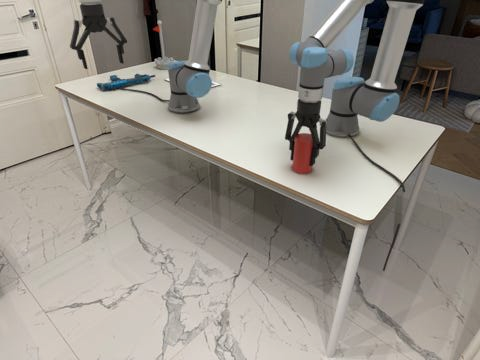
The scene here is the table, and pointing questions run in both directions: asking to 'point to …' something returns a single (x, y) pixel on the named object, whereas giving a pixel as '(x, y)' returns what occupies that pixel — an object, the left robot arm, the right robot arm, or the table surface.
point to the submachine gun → (123, 81)
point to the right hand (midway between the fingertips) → (302, 161)
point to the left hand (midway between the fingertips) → (104, 65)
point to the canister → (302, 153)
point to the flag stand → (165, 61)
